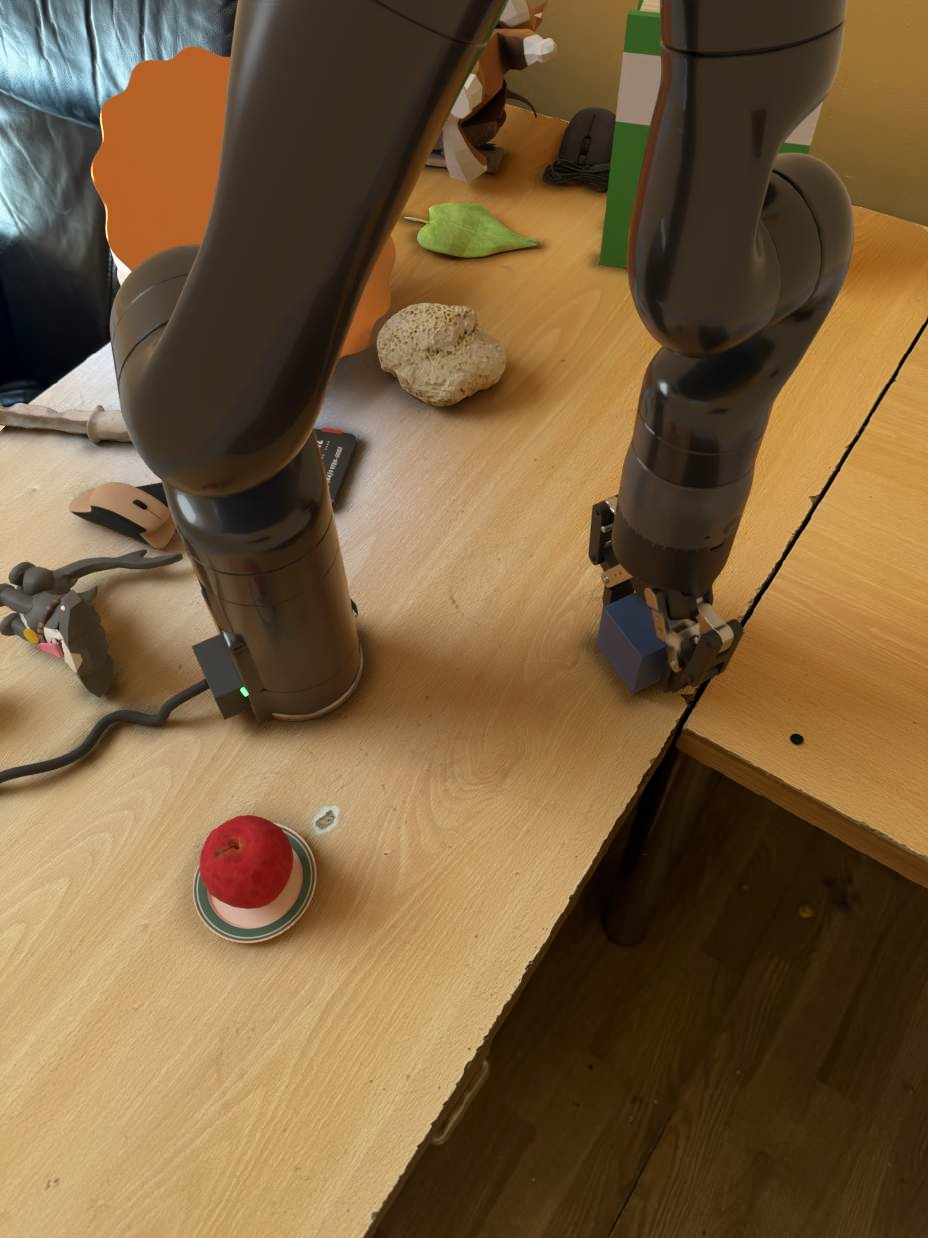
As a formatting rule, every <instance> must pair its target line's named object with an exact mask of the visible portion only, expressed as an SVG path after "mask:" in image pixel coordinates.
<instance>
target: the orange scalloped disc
mask: <svg viewBox="0 0 928 1238" xmlns="http://www.w3.org/2000/svg"><path fill="white" fill-rule="evenodd" d="M230 58H231V56H223V55H220V54H219V55H218V54H217V53H214V52H212V51H211V50H208V49H206V48H203V47H200V46H196V45H194V46H192V45H191V46H187V47H184V48H182V49H181V50H180V51H179V52H178V53H177V54H176V55H174V57H172V58H170V59H165V60H161V59H160V60H159V59H145V60H143V61H139V62H138V63H137V64H136V65H135V66H134V67H133V69H132V70H131V73H130V75H129V79H128V83H127V86H126V87H125V89H124V90H123V91H121V92H119V93H118V94H115V95H113V96H111V97H109V98H108V99H107V100H106V101H105V102H104V103H103V105H102V106H101V109H100V110H99V111H100V112H99V125H100V131H101V144H100V146H99V149H98V150H97V152H96V153H95V156H94V158H93V159H92V162H91V165H90V176H91V182H92V183H93V184H92V185H93V186H94V188H95V190H96V192H97V194H98V195H99V197H100V200H101V202H102V203H103V206H104V210H105V211H104V212H105V223H104V225H105V226H104V231H105V232H104V233H105V238H106V241H107V244H108V247H109V249H110V251H111V255H112V259H113V262H114V264H115V266H116V268H117V270H116V276H117V280H118V283H119V285H120V286H121V285H122V283H123V282H124V280H125V279H126V278H127V276H128V275H129V274H130V273H131V272H132V270H133V269H134V268H135V267H136V266H138V265H139V264H140V263H141V262H143V261H144V260H145V259H147V258H148V257H150V256H152V255H154V254H156V253H158V252H160V251H162V250H165V249H168V248H171V247H175V246H180V245H188V244H201V242H202V239H203V236H204V233H205V230H206V227H207V223H208V219H209V215H210V211H211V208H212V204H213V199H214V193H215V188H216V182H217V176H218V170H219V161H220V152H221V143H222V133H223V123H224V112H225V102H226V92H227V83H228V76H229V67H230ZM396 251H397V250H396V245H395V242H394V239H393V237H392V235H390V236H389V238H388V240H387V242H386V244H385V246H384V248H383V250H382V252H381V254H380V257H379V259H378V261H377V263H376V265H375V267H374V269H373V272H372V274H371V276H370V279H369V281H368V283H367V286H366V288H365V290H364V293H363V296H362V298H361V301H360V303H359V306H358V308H357V311H356V314H355V316H354V319H353V322H352V324H351V327H350V330H349V333H348V335H347V338H346V341H345V344H344V346H343V349H342V352H341V355H340V357H339V360H338V362H339V361H340V360H341V359H343V358H344V357H348V356H353V355H358V354H360V353H362V352H364V351H365V350H366V349H367V347H368V346H369V345H370V342H371V339H372V333H373V329H374V326H375V324H376V323H377V322H378V320H380V319H381V318H382V317H384V316H385V315H386V314H387V312H388V311H389V309H390V307H391V302H392V294H391V293H392V292H391V286H390V276H391V272H392V270H393V267H394V265H395V262H396V257H397V252H396Z"/></svg>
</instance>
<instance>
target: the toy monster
mask: <svg viewBox="0 0 928 1238" xmlns="http://www.w3.org/2000/svg"><path fill="white" fill-rule="evenodd" d="M147 553H148V549H144V548H143V549H139V550H136V551H132V552H129V553H125V554H122V555H119V556H116V557H114V556H113V557H112V556H111V557H110V556H100V557H90V558H83V559H79V560H76V561H73V562H70V563H67V564H66V565H63V566H61V567H58V568H57V569H49V568H46V567H42V566H37V565H35V564H33V563H31V562H30V561H21V562H20V563H18V564H16V565H15V566H14V567H12V569H11V570H10V571H9V573H8V577H7V579H8V581H9V583H8V582H4V583H0V608H2V607H6V608H7V609H9V610H11V611H13V612H11V613H9V614H8V615H6V616H5V617H3V618H2V619H1V621H0V635H2V636H4V637H13V636H18V637H19V638H21V639H22V640H23V641H25V642H27V643H32V644H37V646H36V649H38V650H40V651H42V652H44V653H47V654H49V655H51V656H53V657H56V658H58V659H59V660H61V659H63V660H64V662H65V664H67V665H68V666H69V669H71V671H73V672H74V674H75V675H76V676H77V678H78V679H79V681H80V682H81V683H82V685H83V686H84V688H85V689H86V690H87V692H89V693H90V694H92V695H94V696H96V697H97V698H99V699H101V698H102V697H104V695H105V694H106V693H108V692H109V691H110V690H111V687H112V681H113V673H114V660H113V658H112V656H111V654H110V653H109V650H110V649H109V647H110V645H109V642H108V639H107V635H106V632H105V630H104V629H105V628H104V627H103V625H102V617H101V616H102V615H101V614H100V613H98V611H97V609H96V607H95V606H94V605H92V603H93V602H94V601H95V599H96V598H97V596H98V593H99V586H98V585H95V586H93V587H92V588H90V589H88V590H86V591H83V592H77V591H75V590H74V589H73V587H74V586H75V585H76V584H77V583H78V582H79V580H80V579H81V578H83V577H85V576H88V575H90V574H94V573H98V572H104V571H109V570H115V569H116V570H117V569H125V570H127V569H128V570H154V569H158V568H163V567H167V566H170V565H172V564H175V563H178V562H181V561H182V560H183V559H184V556H183V553H182V552H178V553H170V554H163V555H162V554H161V555H157V556H153V557H152V556H151V557H150V556H149V557H145V556H146V555H147ZM15 586H16V587H15Z"/></svg>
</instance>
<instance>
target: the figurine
mask: <svg viewBox="0 0 928 1238" xmlns="http://www.w3.org/2000/svg"><path fill="white" fill-rule="evenodd" d="M506 100H515V101H520V102H522V103H524V104H526V105H527V106H528V107H529V108H530V109H531V110H532V113H533V115H534V117H535V119H537V118H538V114H537V111H536V109H535V107H534V106H533V104H532V103H531V101H529V100H528V99H527V98H526V97H524V96H522V95H521V94H518V93H517V92H514V91H512V90H510V89H509V88H508V87H507V93H506ZM506 120H507V112H506V110H505V108H504V110H503V114H502V117H501V120H497V121H492V122H488V123H483V124H478V125H474V126H469V127H464V128H462V129H463V132H464V135H465V136H466V138H467V139H468V141H469V142H470V143H471V144H472V146H473V147H474V148H475V149H477V150H478V151H480V152H481V153H482V154H483V155H484V156H485V157H486V162H487V170H486V171H485V172H484V173H492V174H496V173H497V171H498V170H499V167H500V164H501V161H502V159H503V156H504V153H505V147H504V146H503V147H502V146H497V144H496V143H492V142H491V143H489V142H490V141H492V140H493V139H494V138H495V137H496V136H497V134H498V133H499V131H500V129H501V128H502V127H503V126H504V125H505V123H506ZM425 166H432V167H433V166H434V167H442V168H447V165H446V159H445V153H444V145H443V137H442V132H441V133H440V135H439V137H438V139H437V141H436V143H435V145H434V147H433V149H432V152H431V154H430V156H429V158H428V160H427V162H426V164H425Z"/></svg>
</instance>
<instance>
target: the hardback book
mask: <svg viewBox="0 0 928 1238" xmlns="http://www.w3.org/2000/svg"><path fill="white" fill-rule="evenodd" d="M660 44H661V38H660V0H638V1H637V9H629V10H628V11H627V17H626V24H625V34H624V42H623V52H622V60H621V67H620V77H619V87H618V95H617V104H616V112H615V115H616V121H615V130H614V139H613V147H612V156H611V160H610V164H611V165H610V174H609V183H608V191H606V192H607V193H606V201H605V211H604V218H603V228H602V235H601V236H602V237H601V247H600V254H599V265H600V266H601V265H602V266H608V267H615V268H622V269H627V246H628V234H629V228H630V221H631V215H632V210H633V205H634V200H635V195H636V190H637V185H638V181H639V176H640V171H641V166H642V161H643V157H644V151H645V146H646V140H647V136H648V131H649V127H650V123H651V119H652V115H653V111H654V108H655V104H656V100H657V95H658V91H659V87H660V80H661V48H660ZM823 103H824V100H823V101H822V103H821V104H820V105H819V106H818V107H817V108H816V109H815V110H814V111H813V112H812V113H810V114H809V115H808V116H807V117H806V118H805V119H804V120H803V121H802V122H801V123H800V124H799V125H798V126H797V127H796V128H795V129H794V130H793V132H792V133H791V134H790V135H789V137H788V138H787V139H786V140H785V142H784V144H783V145H782V147H781V149H780V150H779V153H778V154H780V153H787V152H795V153H804V154H808V155H809V152H810V150H811V146H812V142H813V138H814V134H815V132H816V129H817V125H818V121H819V118H820V114H821V111H822V108H823Z"/></svg>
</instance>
